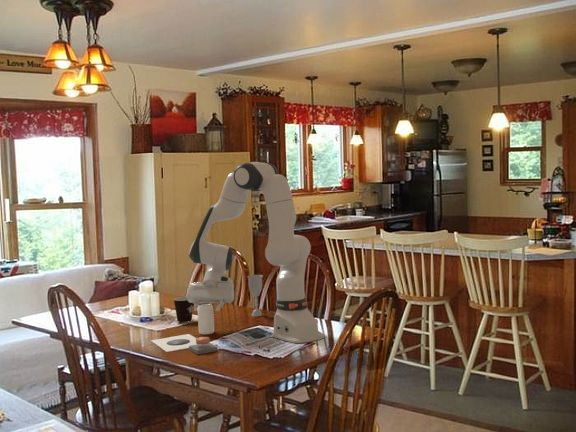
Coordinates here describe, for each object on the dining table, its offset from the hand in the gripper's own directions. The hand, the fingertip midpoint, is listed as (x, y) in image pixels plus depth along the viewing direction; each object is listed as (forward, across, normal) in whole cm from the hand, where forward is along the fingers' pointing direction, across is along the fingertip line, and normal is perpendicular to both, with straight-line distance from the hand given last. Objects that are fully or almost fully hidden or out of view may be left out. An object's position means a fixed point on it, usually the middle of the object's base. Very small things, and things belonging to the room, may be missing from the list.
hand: (206, 310), depth 262 cm
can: (+8, 0, +6) cm, 9 cm away
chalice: (-16, +12, +29) cm, 35 cm away
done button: (+23, +8, -15) cm, 29 cm away
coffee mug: (-8, -17, +21) cm, 28 cm away
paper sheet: (+19, -6, -6) cm, 21 cm away
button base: (+25, +8, -12) cm, 29 cm away
